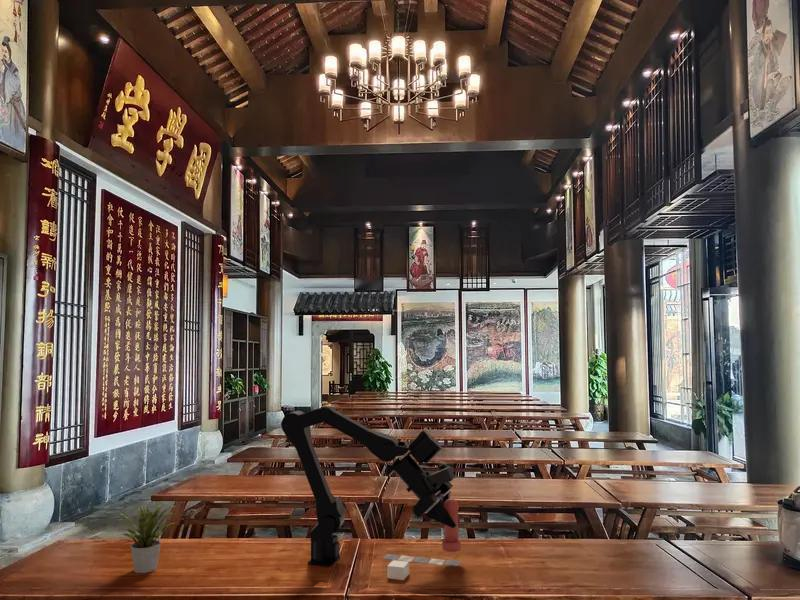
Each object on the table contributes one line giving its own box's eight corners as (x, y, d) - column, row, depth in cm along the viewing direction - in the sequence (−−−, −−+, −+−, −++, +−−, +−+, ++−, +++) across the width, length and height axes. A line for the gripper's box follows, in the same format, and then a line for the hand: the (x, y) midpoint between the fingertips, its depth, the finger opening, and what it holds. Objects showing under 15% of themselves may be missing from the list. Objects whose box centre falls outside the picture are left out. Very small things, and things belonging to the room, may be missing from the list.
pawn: (440, 550, 153) (439, 500, 154) (444, 545, 158) (444, 495, 158) (458, 552, 152) (457, 501, 153) (462, 546, 156) (462, 497, 157)
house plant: (192, 564, 159) (193, 498, 160) (150, 583, 146) (151, 512, 147) (151, 556, 165) (152, 493, 166) (107, 574, 152) (108, 506, 153)
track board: (378, 565, 156) (378, 561, 156) (389, 555, 164) (389, 551, 164) (456, 574, 150) (456, 569, 150) (463, 563, 157) (463, 558, 158)
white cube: (387, 583, 145) (387, 565, 145) (393, 577, 149) (393, 560, 149) (403, 585, 144) (403, 567, 144) (409, 579, 148) (409, 561, 148)
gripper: (424, 461, 149) (470, 512, 144) (444, 449, 166) (486, 494, 162) (393, 493, 151) (438, 544, 146) (416, 477, 168) (457, 522, 164)
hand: (456, 524), depth 155 cm, fingers closed on pawn, 3 cm apart
